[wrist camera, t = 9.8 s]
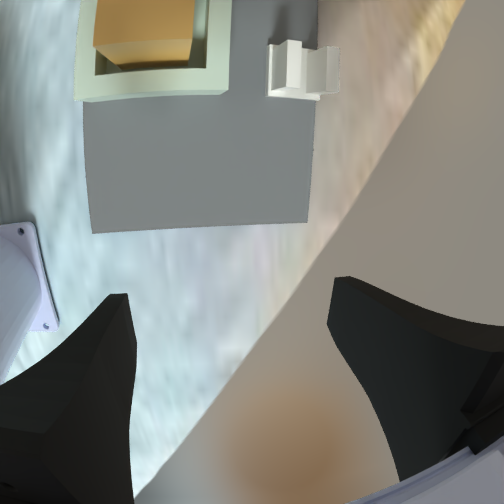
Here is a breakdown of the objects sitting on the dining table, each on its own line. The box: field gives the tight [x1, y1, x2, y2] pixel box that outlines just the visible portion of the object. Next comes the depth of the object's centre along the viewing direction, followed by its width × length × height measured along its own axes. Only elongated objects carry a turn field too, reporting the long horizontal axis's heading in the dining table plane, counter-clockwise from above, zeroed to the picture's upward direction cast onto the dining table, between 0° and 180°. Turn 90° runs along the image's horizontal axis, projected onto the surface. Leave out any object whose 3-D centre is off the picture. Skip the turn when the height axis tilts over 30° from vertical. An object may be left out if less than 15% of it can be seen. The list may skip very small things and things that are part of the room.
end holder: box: [74, 0, 232, 103], centre depth 12 cm, size 7×7×3 cm
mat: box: [83, 0, 318, 234], centre depth 15 cm, size 13×18×1 cm
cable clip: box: [265, 40, 340, 101], centre depth 15 cm, size 3×3×3 cm
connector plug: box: [93, 0, 195, 70], centre depth 10 cm, size 3×3×6 cm
